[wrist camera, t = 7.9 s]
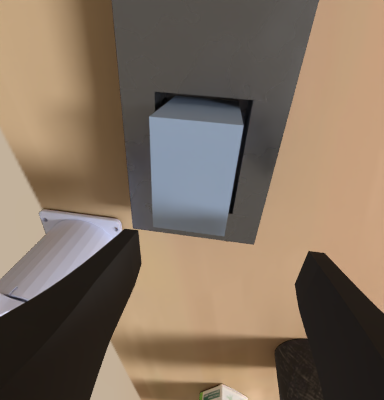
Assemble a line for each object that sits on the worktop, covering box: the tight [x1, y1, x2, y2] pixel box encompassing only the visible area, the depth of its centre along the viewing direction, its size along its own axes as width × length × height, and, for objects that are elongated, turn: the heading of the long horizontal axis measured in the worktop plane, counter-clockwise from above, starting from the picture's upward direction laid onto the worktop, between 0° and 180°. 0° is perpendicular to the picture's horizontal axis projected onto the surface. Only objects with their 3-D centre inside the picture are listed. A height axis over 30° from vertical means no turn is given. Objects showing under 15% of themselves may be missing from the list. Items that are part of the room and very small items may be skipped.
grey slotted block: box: [112, 0, 319, 245], centre depth 14 cm, size 18×9×4 cm, turn 177°
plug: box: [149, 96, 244, 236], centre depth 14 cm, size 6×4×6 cm, turn 176°
